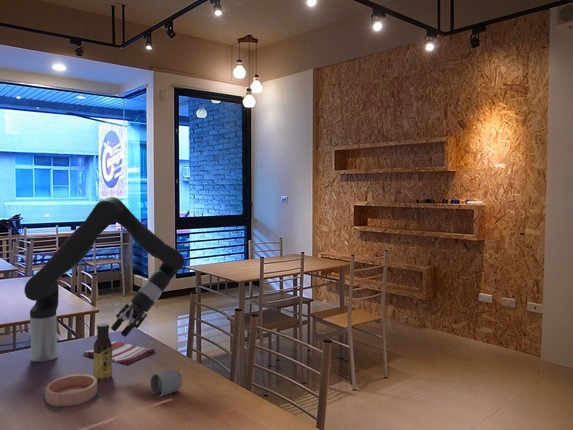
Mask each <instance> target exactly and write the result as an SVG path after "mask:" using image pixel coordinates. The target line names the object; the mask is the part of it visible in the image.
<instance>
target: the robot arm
mask: <svg viewBox="0 0 573 430" xmlns="http://www.w3.org/2000/svg"><path fill="white" fill-rule="evenodd" d="M114 222H115V223H117V224H118V225H120V226H121V227H122V228H124V229H125V230H126V231H127V232H128V233H129V235H130V236H131V237H132V239H133V240H134V241H135V242H136V243H137V245H138V246H139V247H140V248H141V249H143V250H144V251H145V252H147V254H149V255H150V256H152V257H153V258H156V259H158V260H159V261H161V262H162V263H161V264H160V266H159V267H158V268H157V270H155V272H153V274H152V275H151V276H150V278H148V279H147V281H146V282H145V283H144V284H143V285H142V286H141V287H140V288H139V290H138V291H137V292H136V294H135V295H134V296H133V297H132V298H131V300H130V301H131V303H132V304H128V303H126V304H125V305H124V306H123V307H122V308H121V309H120V311H118V313H117V314H116V315H115V317H116V320H115V322H114V323H113V324H112V326H110V329H111V330H112V331H113V332H116V331H117V330H118V329H119V328H120V326H121V325H122V324H123V323H124V322H126V321H128V324H126V326H125V327H124V328H123V330H122V331H121V332H120V334H121V336H122V337H125V338H126V337H127V336H128V335H129V334H130V333H131V331H132V330H134V329H138V328H139V327H140V326H141V324H142V323H143V322H144V321H145V319H146V318H147V316H148V314H147V312H149V311H150V309H151V308H152V307H153V306H154V305H155V303H156V302H157V300H159V298H160V296H161V295H162V293H163V292H164V291H165V289H166V288H167V287H168V285H169V284H170V282H171V281H172V279H173V278H174V276H175V275H176V274H177V273H178V272H179V271H180V270H181V269H182V268H184V266H185V262H186V261H185V260H186V259H185V256H183V254H182V253H181V252H180V251H178V250H177V249H175V248H174V247H172V246H171V245H168V243H165V242H164V241H163V240H162V239H161V238H159V237H158V236H157V235H156V234H155V233H153V232H152V231H151V230H150V229H149V228H148V227H147V226H145V225H144V224H143V223H142V222H141V221H140V220H139V219H138V218H137V217H136V216H135V215H134V214H133V213H132V212H131V211H130V210H129V208H128V207H127V206H126V205H125V203H124V202H123V201H122V200H120V199H119V198H117V197H115V196H108V197H105V198H104V199H102V200H100V201H98V202H97V203H96V204H95V206H94V207H93V208H92V210H91V212H90V213H89V215H88V216H87V217H86V218H85V220H84V221H83V222H82V224H81V225H80V226H78V227H77V228H76V229H75V230H74V231H73V232H72V233H71V234H70V235H69V236H68V237H67V238H66V239H65V241H64V242H63V243H62V244H61V245H60V246H59V247H58V249H57V250H56V251H55V252H54V253H53V255H52V256H51V257H50V258H49V259H48V260H47V262H46V263H45V265H43V266H42V267H41V268H40V269H39V270H38V271H37V272H36V273H35V274H34V275H33V276H31V277H30V278H29V280H27V282H26V283H25V286H24V290H23V291H24V295H25V298H27V299H28V300H30V301H34V302H35V304H34V305H33V306H32V307H31V309H30V310H29V320H30V321H29V322H30V323H29V324H30V325H29V326H30V356H31V358H30V359H31V361H32V362H34V363H35V362H36V363H43V362H49V361H52V360H56V358H58V334H57V333H58V328H57V327H58V326H57V323H58V322H57V309H58V307H59V297H60V296H59V293H60V292H59V291H60V290H59V282H58V280H59V279H60V278H61V277H62V276H64V275H65V274H66V273H68V272H69V271H70V270H71V269H73V268H74V267H76V266H77V265H78V264H79V263H81V262H82V260H83V259H84V258H85V257H86V256H87V254H89V252H90V251H91V250H92V248H93V246H94V244H95V242H96V240H97V239H98V237H99V236H100V235H101V234H102V233H103V232H104V231H105V230H106V229H107V228H109V226H110V225H112V224H113V223H114Z"/></svg>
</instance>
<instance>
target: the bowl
mask: <svg viewBox="0 0 573 430" xmlns="http://www.w3.org/2000/svg"><path fill="white" fill-rule="evenodd" d="M98 384H99V382H98V381H97V379H96V378H95V377H94V375H91V374H82V373H81V374H71V375H66V376H63V377H58V378H56V379H54V380H52V381H51V382H48V383H47V385H46V387H45V388H44V389H45V392H44V394H45V399H46V401H47V402H46V401H45V402H46V403H47V404H48V405H49V404H50V405H52V406H57V407H67V406H72V407H75V406H74V405H76V406H79V405H82V404H86V403H88V402H87V401H89V400H91V399H92V398H94V397H95V396H96V394H97V391H98ZM85 402H86V403H85ZM89 402H90V401H89ZM78 404H79V405H78ZM50 405H49V406H50Z"/></svg>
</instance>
